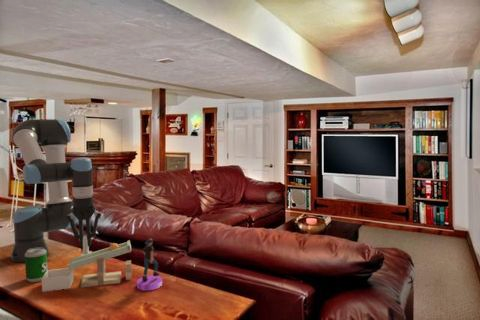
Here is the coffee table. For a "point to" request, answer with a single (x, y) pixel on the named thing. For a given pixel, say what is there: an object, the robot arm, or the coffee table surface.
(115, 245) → the ball
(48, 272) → the dish
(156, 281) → the figurine
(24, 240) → the robot arm
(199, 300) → the coffee table surface
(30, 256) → the soda can
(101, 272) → the stand
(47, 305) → the coffee table surface
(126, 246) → the lever
